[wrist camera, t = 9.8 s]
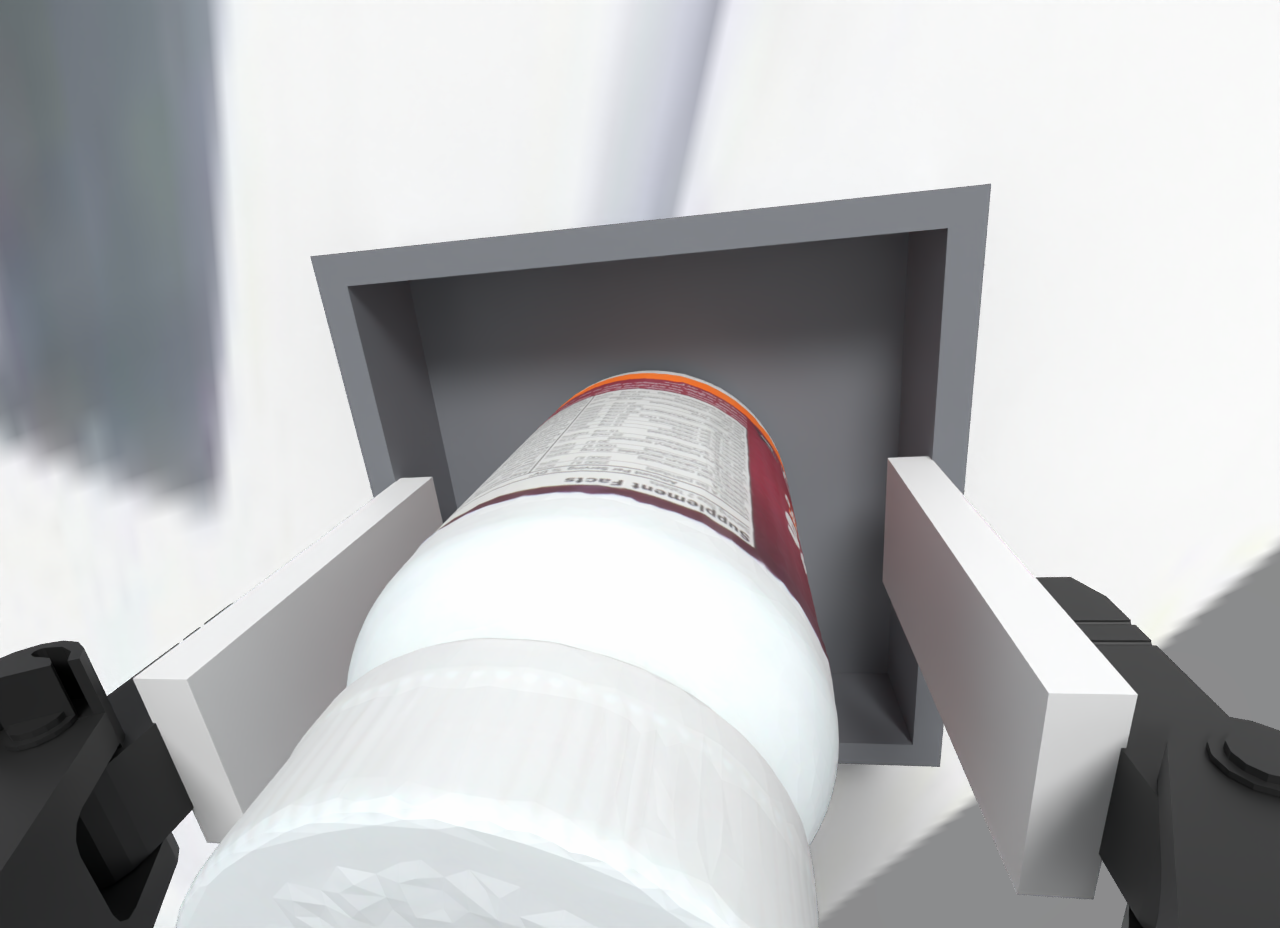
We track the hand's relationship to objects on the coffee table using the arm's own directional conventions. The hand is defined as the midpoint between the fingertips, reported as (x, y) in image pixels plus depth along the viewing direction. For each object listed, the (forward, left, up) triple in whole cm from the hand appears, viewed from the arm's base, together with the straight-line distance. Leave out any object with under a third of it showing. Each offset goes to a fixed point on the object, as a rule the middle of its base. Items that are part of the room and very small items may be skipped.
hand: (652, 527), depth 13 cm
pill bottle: (0, 0, -2) cm, 2 cm away
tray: (0, 0, -3) cm, 3 cm away
